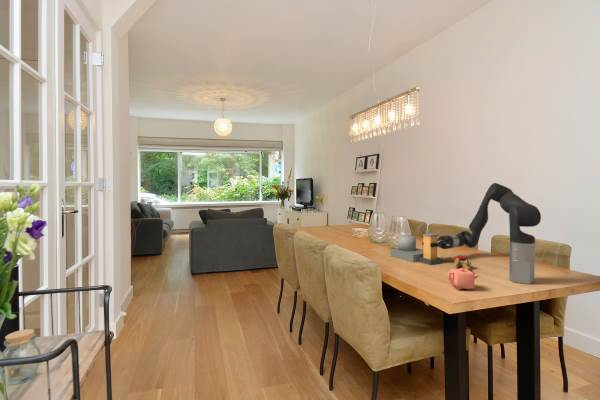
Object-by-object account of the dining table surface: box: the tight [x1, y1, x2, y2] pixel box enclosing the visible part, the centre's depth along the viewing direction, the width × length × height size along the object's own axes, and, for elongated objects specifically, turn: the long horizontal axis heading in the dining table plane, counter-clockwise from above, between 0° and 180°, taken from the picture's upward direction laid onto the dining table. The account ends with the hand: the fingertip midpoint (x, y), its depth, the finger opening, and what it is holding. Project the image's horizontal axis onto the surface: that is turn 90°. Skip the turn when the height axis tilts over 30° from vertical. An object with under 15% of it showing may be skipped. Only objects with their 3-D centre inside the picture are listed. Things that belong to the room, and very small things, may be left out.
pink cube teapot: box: [447, 267, 480, 291], centre depth 138 cm, size 8×12×8 cm, turn 85°
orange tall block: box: [422, 232, 438, 260], centre depth 184 cm, size 5×5×14 cm
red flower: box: [453, 254, 473, 273], centre depth 168 cm, size 8×6×18 cm
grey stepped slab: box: [390, 234, 444, 266], centre depth 192 cm, size 16×27×12 cm, turn 26°
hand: (426, 244), depth 182 cm, fingers closed on orange tall block, 5 cm apart
